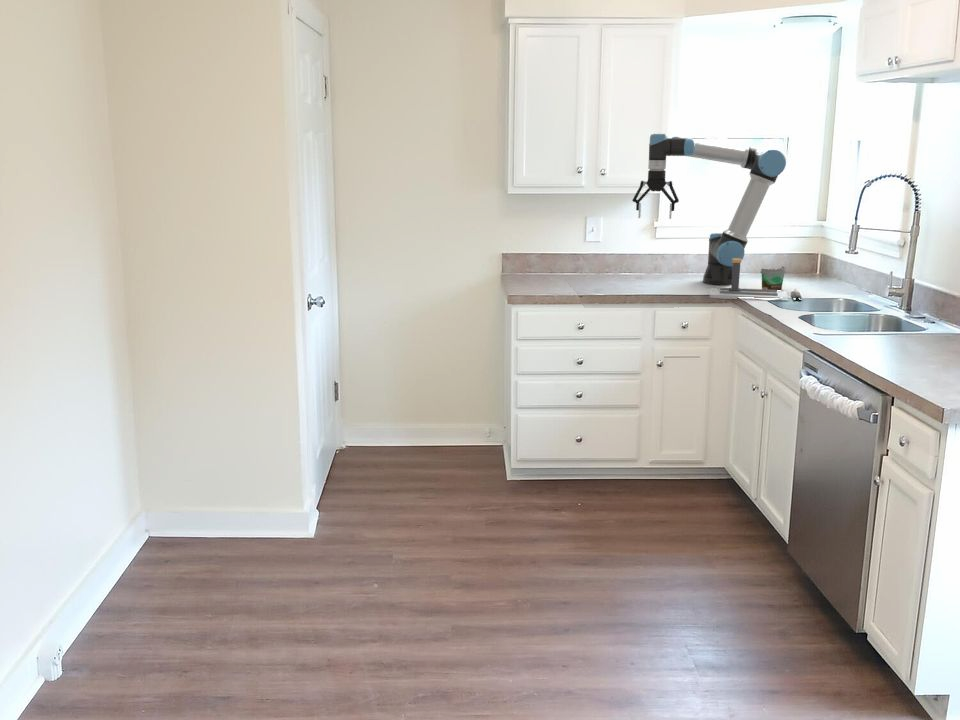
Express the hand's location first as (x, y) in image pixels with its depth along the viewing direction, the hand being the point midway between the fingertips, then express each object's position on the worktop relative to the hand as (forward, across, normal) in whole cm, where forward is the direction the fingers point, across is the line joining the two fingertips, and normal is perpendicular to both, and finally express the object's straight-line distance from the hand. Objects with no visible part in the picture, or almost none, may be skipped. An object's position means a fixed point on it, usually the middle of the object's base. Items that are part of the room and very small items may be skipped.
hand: (654, 218), depth 393 cm
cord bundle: (+32, +62, -9) cm, 70 cm away
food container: (+32, +54, +5) cm, 63 cm away
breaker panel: (+32, +42, -10) cm, 54 cm away
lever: (+30, +36, -10) cm, 48 cm away
